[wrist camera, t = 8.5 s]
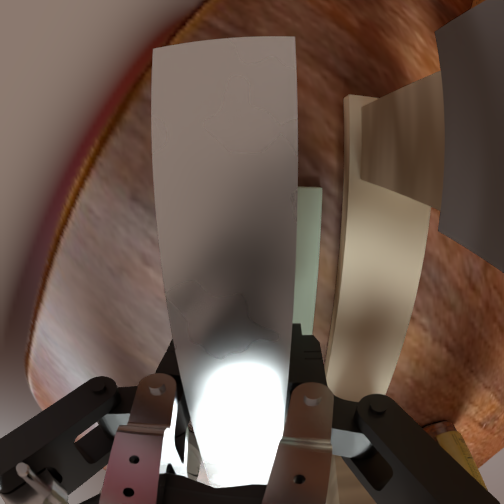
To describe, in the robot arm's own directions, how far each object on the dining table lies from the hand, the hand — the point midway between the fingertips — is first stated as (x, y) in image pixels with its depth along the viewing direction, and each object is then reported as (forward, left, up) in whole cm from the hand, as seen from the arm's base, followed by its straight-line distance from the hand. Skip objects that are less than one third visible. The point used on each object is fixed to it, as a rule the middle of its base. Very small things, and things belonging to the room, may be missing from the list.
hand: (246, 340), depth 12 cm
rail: (0, 0, +1) cm, 1 cm away
